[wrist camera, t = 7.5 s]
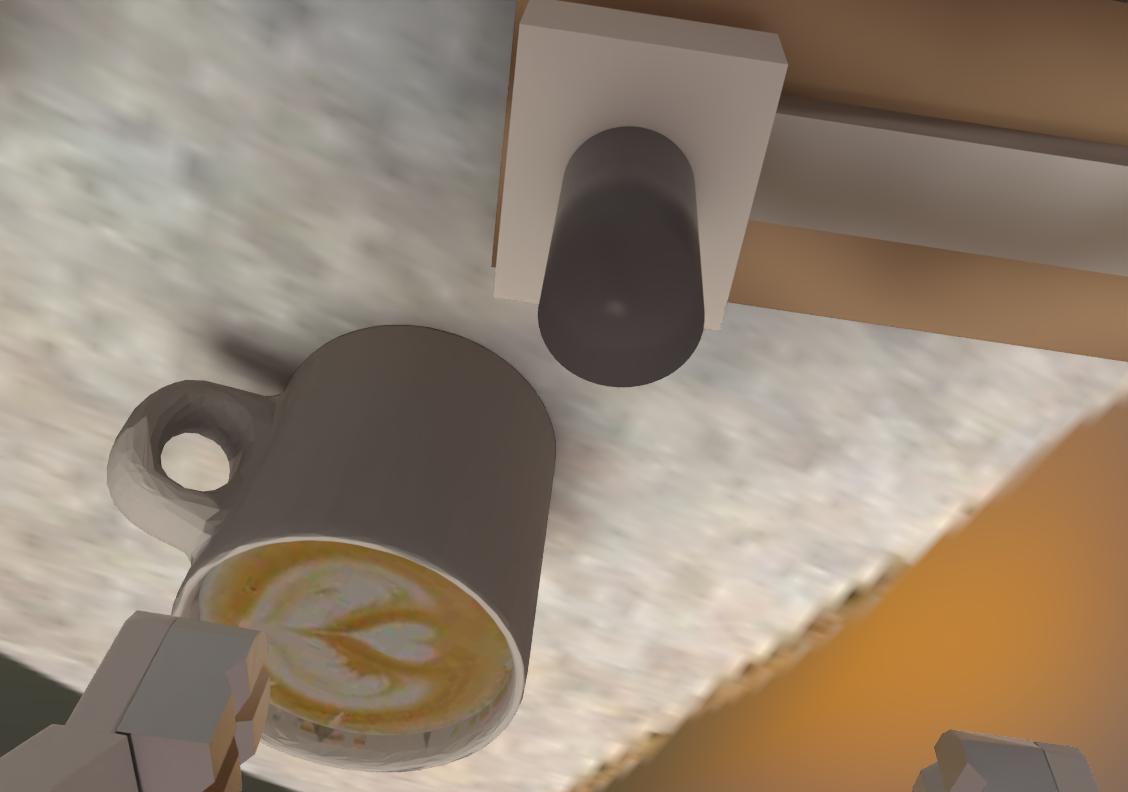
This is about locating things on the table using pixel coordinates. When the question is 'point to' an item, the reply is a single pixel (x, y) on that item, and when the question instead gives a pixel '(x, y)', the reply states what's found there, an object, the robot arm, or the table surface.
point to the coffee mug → (364, 539)
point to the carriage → (631, 181)
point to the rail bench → (944, 79)
